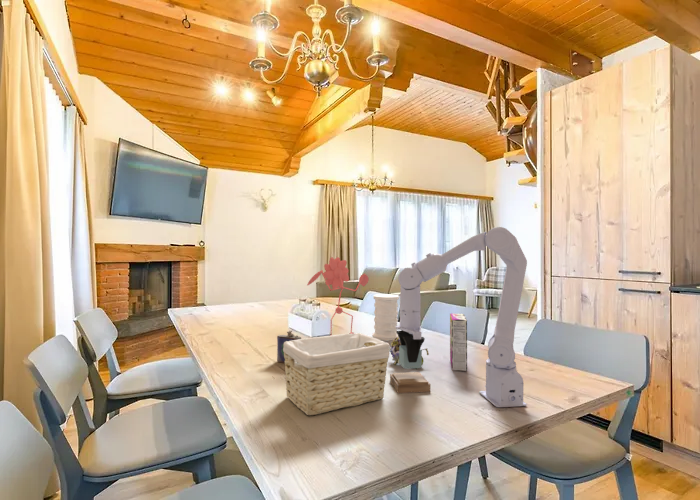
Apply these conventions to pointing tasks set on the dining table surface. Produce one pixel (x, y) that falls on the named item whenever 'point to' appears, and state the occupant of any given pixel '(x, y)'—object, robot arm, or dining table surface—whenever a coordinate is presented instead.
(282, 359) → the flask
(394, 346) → the passion flower
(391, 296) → the decorative container
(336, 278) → the figurine
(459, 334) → the candy bar box
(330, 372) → the storage basket
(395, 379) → the square coaster
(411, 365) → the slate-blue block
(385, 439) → the dining table surface
